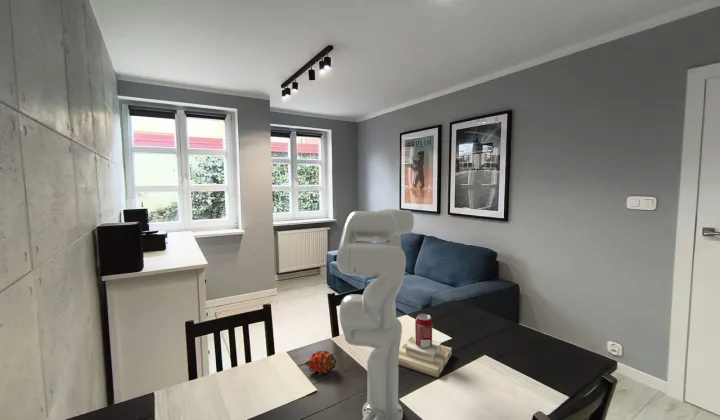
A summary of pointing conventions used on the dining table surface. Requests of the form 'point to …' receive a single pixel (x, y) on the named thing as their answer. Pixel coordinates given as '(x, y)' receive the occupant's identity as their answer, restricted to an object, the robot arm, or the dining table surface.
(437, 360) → the birch riser
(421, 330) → the soda can
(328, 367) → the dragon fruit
